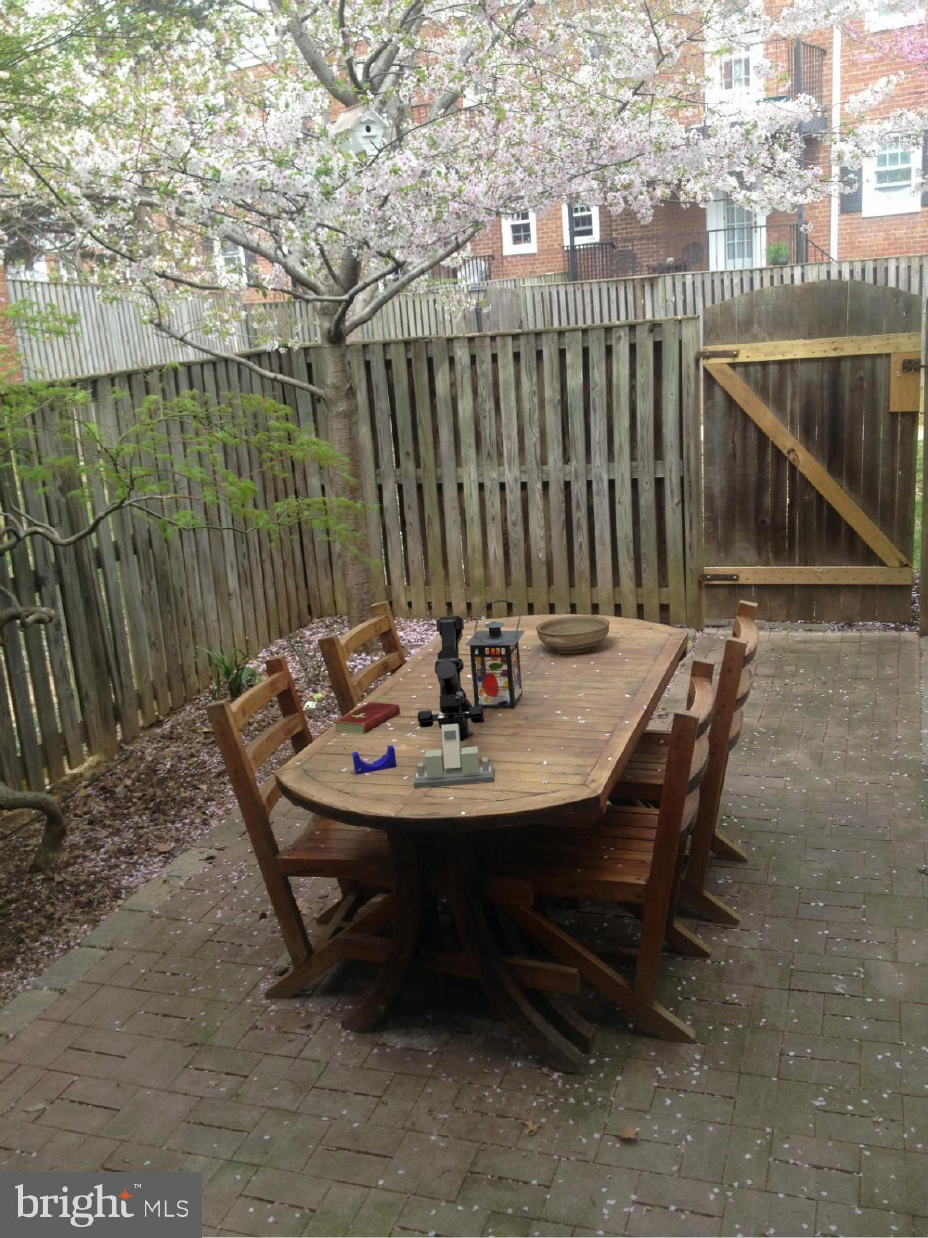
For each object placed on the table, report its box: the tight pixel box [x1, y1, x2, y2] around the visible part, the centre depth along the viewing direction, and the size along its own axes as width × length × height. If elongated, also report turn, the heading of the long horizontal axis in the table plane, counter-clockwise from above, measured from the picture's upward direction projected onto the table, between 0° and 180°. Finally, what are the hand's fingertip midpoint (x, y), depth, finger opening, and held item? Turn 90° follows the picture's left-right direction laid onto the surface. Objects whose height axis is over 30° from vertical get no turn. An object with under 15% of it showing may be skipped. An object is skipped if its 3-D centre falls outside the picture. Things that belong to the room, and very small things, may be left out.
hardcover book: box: [333, 701, 401, 735], centre depth 354 cm, size 12×21×4 cm, turn 150°
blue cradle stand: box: [351, 744, 398, 776], centre depth 312 cm, size 12×4×6 cm, turn 106°
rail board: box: [413, 745, 495, 789], centre depth 297 cm, size 9×22×8 cm, turn 88°
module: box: [440, 724, 462, 769], centre depth 298 cm, size 5×4×12 cm
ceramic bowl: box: [535, 614, 610, 654], centre depth 418 cm, size 37×29×10 cm
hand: (452, 744), depth 301 cm, fingers closed, pressing on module
